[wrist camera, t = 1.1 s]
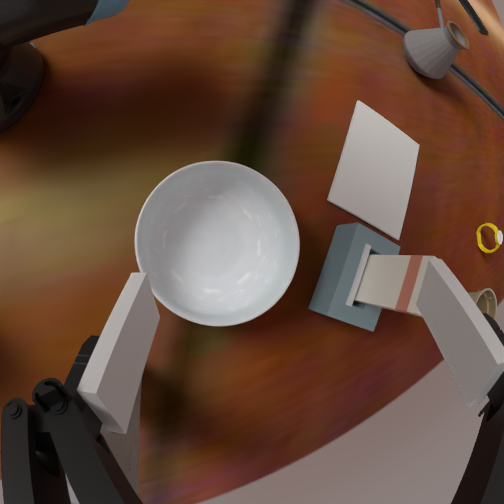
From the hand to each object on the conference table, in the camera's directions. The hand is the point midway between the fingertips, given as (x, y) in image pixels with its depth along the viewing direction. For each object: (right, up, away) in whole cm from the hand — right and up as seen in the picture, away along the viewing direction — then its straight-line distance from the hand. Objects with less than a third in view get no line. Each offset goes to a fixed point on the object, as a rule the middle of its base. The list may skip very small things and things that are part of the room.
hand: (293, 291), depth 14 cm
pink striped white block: (+11, -2, +28) cm, 30 cm away
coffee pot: (+31, +46, +35) cm, 65 cm away
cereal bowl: (-7, +3, +24) cm, 25 cm away
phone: (+71, +80, +47) cm, 117 cm away
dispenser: (+11, -2, +29) cm, 31 cm away
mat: (+18, +14, +31) cm, 38 cm away
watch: (+45, +5, +40) cm, 60 cm away
